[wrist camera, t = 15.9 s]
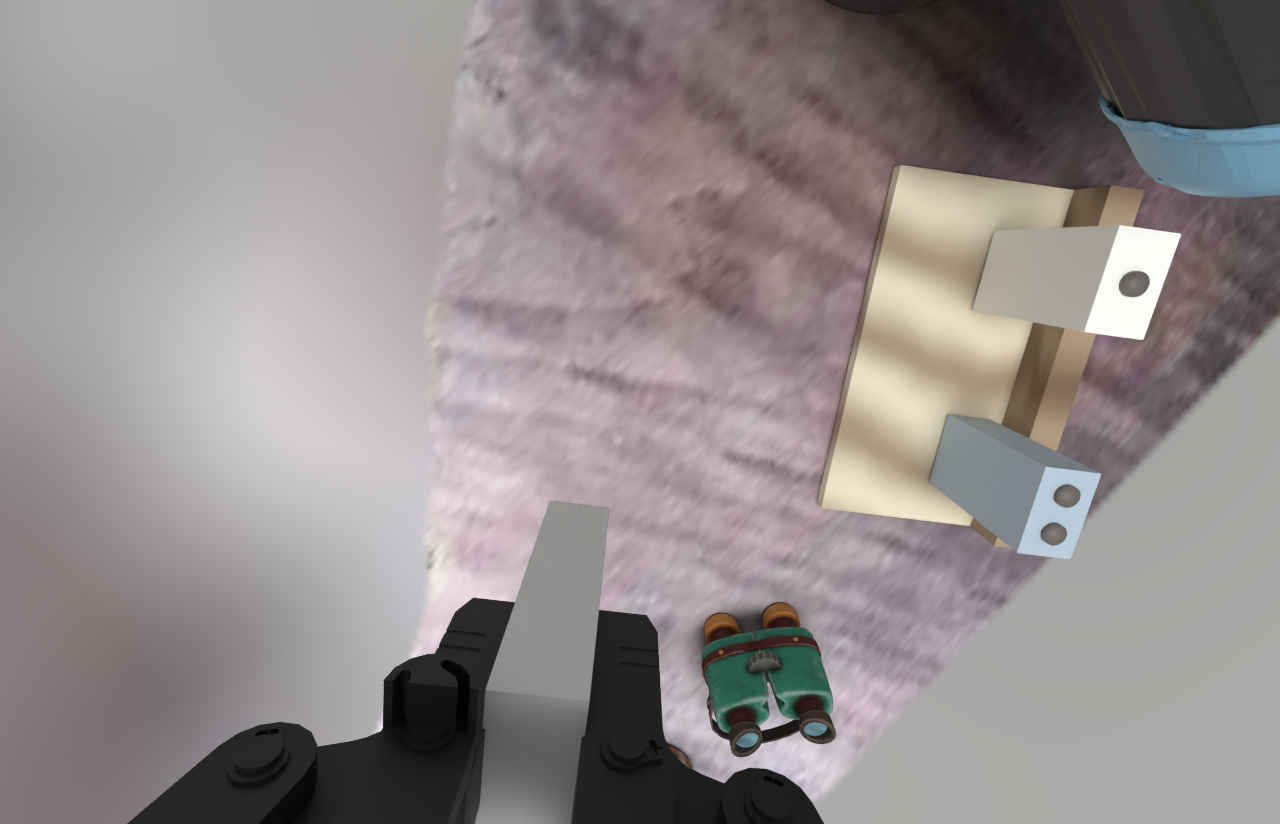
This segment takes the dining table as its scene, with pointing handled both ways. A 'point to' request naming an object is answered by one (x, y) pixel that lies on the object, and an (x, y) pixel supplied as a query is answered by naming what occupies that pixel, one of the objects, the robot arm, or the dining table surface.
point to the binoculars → (765, 680)
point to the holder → (951, 340)
